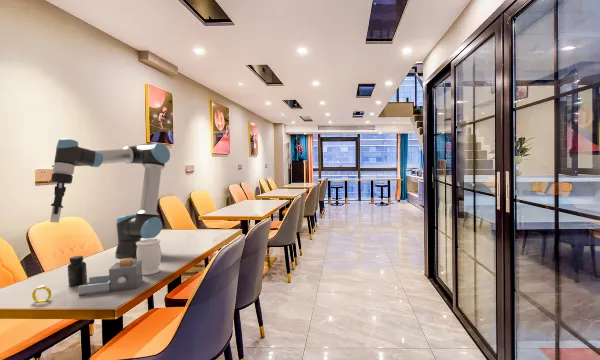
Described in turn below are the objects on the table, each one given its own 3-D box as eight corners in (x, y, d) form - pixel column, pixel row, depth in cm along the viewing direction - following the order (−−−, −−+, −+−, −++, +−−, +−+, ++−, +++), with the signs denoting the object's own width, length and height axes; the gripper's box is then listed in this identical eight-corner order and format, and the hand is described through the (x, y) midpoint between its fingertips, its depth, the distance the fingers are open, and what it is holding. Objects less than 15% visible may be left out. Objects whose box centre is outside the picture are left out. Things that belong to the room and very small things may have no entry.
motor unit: (90, 285, 143) (88, 260, 142) (143, 279, 148) (141, 255, 147) (76, 298, 129) (74, 270, 129) (135, 290, 134) (133, 263, 134)
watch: (31, 304, 126) (29, 289, 125) (36, 301, 128) (34, 286, 128) (49, 301, 127) (46, 286, 126) (53, 298, 129) (51, 283, 129)
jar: (146, 277, 151) (144, 244, 150) (133, 274, 156) (131, 242, 155) (166, 270, 160) (164, 239, 159) (153, 267, 165) (151, 237, 164)
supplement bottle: (89, 283, 146) (87, 256, 145) (71, 288, 141) (68, 260, 140) (85, 280, 150) (83, 254, 150) (66, 284, 145) (64, 257, 145)
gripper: (53, 175, 155) (45, 221, 151) (51, 168, 135) (41, 221, 131) (72, 178, 159) (65, 222, 156) (73, 171, 139) (65, 222, 135)
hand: (54, 222), depth 143 cm, fingers open, 13 cm apart
